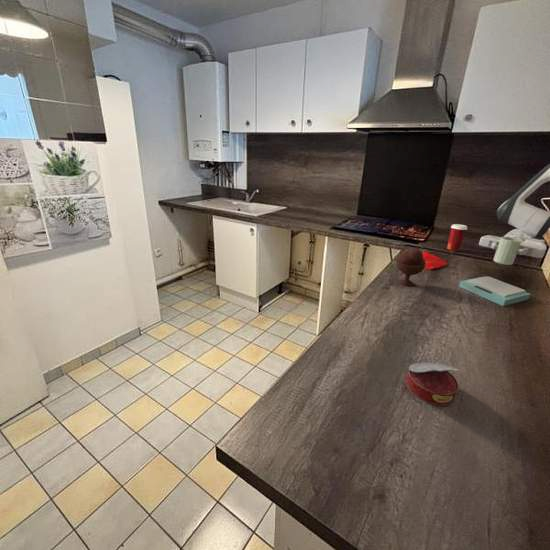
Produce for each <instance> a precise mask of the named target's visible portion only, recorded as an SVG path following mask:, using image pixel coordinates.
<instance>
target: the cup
mask: <svg viewBox="0 0 550 550" xmlns="http://www.w3.org/2000/svg"><path fill="white" fill-rule="evenodd" d="M500 237H501V239H500V242H499V245H498V247H497V250H495V252H494V253H495V254H494V256H493V258H492V259H493V262H495V263H497V264H499V265H505V266H511V265H514V263H515V260H516V257H517V251H518V249H519V247H520V245H521V242H522V240H520V239H517V238H513V237H504V236H500Z"/></svg>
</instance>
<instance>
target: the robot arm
mask: <svg viewBox="0 0 550 550" xmlns="http://www.w3.org/2000/svg"><path fill="white" fill-rule="evenodd" d="M548 182H550V163H548V164H547V165H545V166H544V167H543V168H542V169H541V170H540V171H538V173H536V174H535V175H534V176H533V177H532V178H531V179H529V181H528V182H526V184H524V185H523V186H522V187H521V188H520V189H519V190H518V191H516V192H515V193H514V194H513V195H512V196H511V197H510V198H508V199H507V200H505V201H504V202H503V203H502V204H501V205H500V206H499V207H498V209H497V210H496V218H497V219H498V221H499V222H502V223H504V224H507V225H510V226H512V227H514V228H513V229H512V230H510V231H509V232H507V233H506V234H505V235H503V237H513V238H517V239H520V240H522V242H521V245H520V247H519V249H518V251H517V255H518V256H522V255H523V256H528V257H532V258H535V259H543V257H544V256H545V254H546V251H547V247H548V246H547V244H546V243H545V242H546V240H544V239H541V238H543V236H545V234H546V233H547V232H548V231H549V229H550V212H549V211H548V210H545V209H543V208H539V207H537V206H535V205H532V204H530V203H528V202H526V201H525V200H526V199H527V198H528V197H530V195H532V193H534V192H535V191H536V190H537V189H538V188H539V187H540V186H542V185H543V184H545V183H548ZM501 237H502V236H496V235H492V234H491V235H490V234H486V235H483V236H481V237H480V239H479V242H478V245H479V246H480V247H484V248H488V249H492V250H495V251H496V250H497V247H498V245H499V242H500V239H501ZM517 255H516V256H517Z"/></svg>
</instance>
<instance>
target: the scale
mask: <svg viewBox="0 0 550 550" xmlns="http://www.w3.org/2000/svg"><path fill="white" fill-rule="evenodd" d="M459 281H460V282H459V285H458V287H459V288H460V289H463V290H465V291H467V292H469V293H473V294H474V295H477V296H479V297H481V298H483V299H485V300H489V301H490V302H492V303H495V304H497V305H499V306H502V307H505V306H510V305H513V304H517V303H520V302H524V301H528V300H529V299H530V297H531V293H530V292H527V291H526V290H525V289H523V288H520V287H518V286H515V285H512V284H510V283H507V282H504V281H502V280H499V279H496V278H494V277H491V276H489V275H486V276H485V275H483V276H480V277H474V278H470V279H465V280H459Z"/></svg>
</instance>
